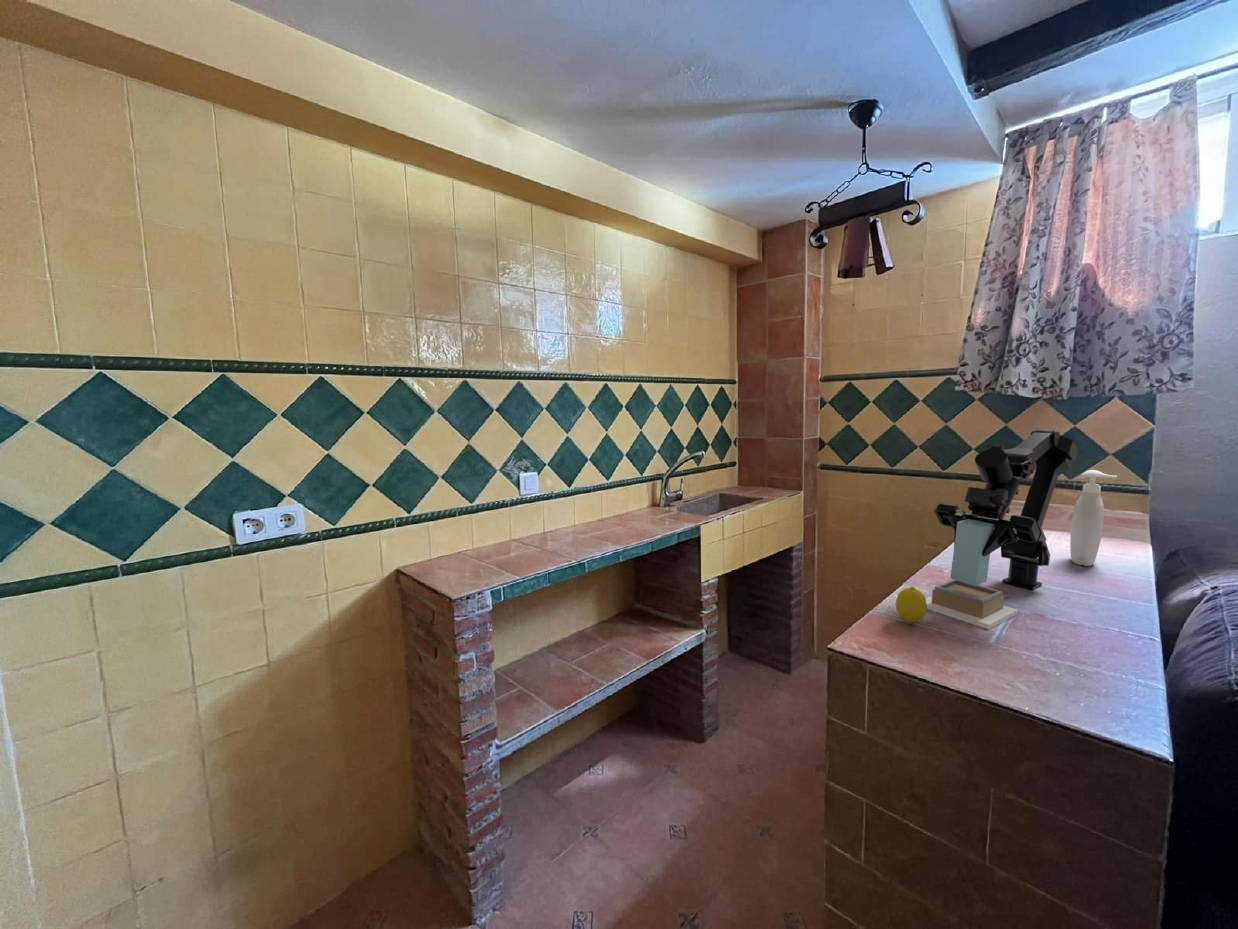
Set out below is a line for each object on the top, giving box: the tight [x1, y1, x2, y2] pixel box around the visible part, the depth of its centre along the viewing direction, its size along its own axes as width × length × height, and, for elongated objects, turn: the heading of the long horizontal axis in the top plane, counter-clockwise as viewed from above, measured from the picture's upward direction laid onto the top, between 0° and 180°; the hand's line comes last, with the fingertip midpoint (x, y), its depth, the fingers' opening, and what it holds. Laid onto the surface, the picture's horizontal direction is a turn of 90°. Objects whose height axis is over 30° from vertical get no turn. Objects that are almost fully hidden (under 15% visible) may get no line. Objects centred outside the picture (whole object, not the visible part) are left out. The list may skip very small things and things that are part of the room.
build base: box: [925, 579, 1018, 630], centre depth 111 cm, size 14×14×5 cm
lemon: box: [895, 586, 928, 625], centre depth 104 cm, size 6×6×8 cm
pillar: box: [950, 519, 994, 586], centre depth 110 cm, size 5×5×13 cm
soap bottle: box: [1069, 469, 1118, 567], centre depth 143 cm, size 14×8×27 cm, turn 139°
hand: (969, 552), depth 109 cm, fingers closed on pillar, 5 cm apart
